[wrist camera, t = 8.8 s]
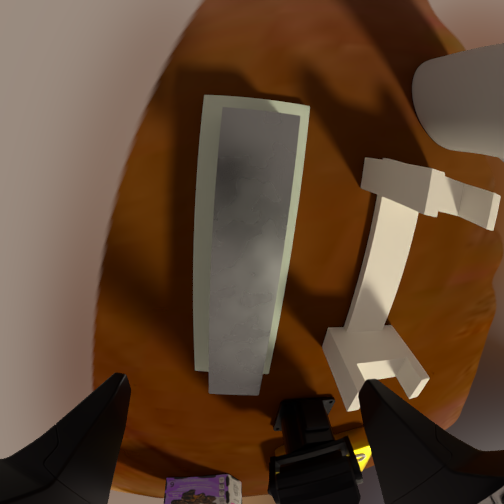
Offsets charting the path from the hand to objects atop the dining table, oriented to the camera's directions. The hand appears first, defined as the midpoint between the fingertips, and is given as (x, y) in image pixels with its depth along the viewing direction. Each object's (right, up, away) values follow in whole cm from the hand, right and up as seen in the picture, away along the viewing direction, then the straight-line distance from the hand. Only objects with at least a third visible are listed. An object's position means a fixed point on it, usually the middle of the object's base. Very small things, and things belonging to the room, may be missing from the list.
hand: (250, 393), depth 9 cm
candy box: (-9, -39, +29) cm, 49 cm away
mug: (+19, +17, +8) cm, 27 cm away
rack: (+11, +4, +13) cm, 17 cm away
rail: (-1, +4, +11) cm, 12 cm away
